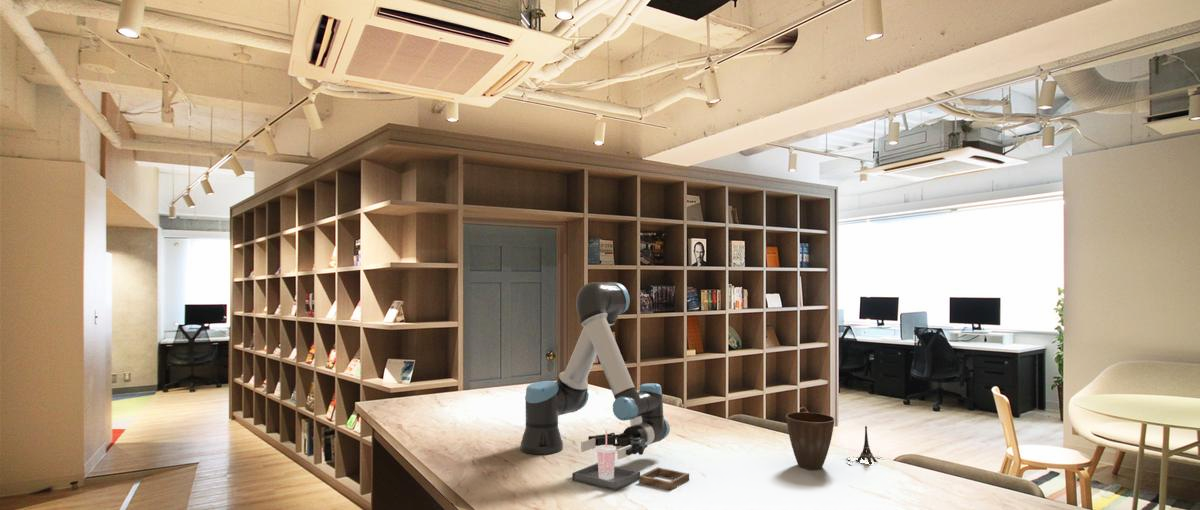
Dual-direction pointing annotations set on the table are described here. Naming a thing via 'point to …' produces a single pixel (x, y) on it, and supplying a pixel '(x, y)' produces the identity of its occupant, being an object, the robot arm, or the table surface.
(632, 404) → the robot arm
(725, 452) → the table surface
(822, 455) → the plant pot
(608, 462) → the beverage cup
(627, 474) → the tray
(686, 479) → the holder
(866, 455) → the eiffel tower figurine
